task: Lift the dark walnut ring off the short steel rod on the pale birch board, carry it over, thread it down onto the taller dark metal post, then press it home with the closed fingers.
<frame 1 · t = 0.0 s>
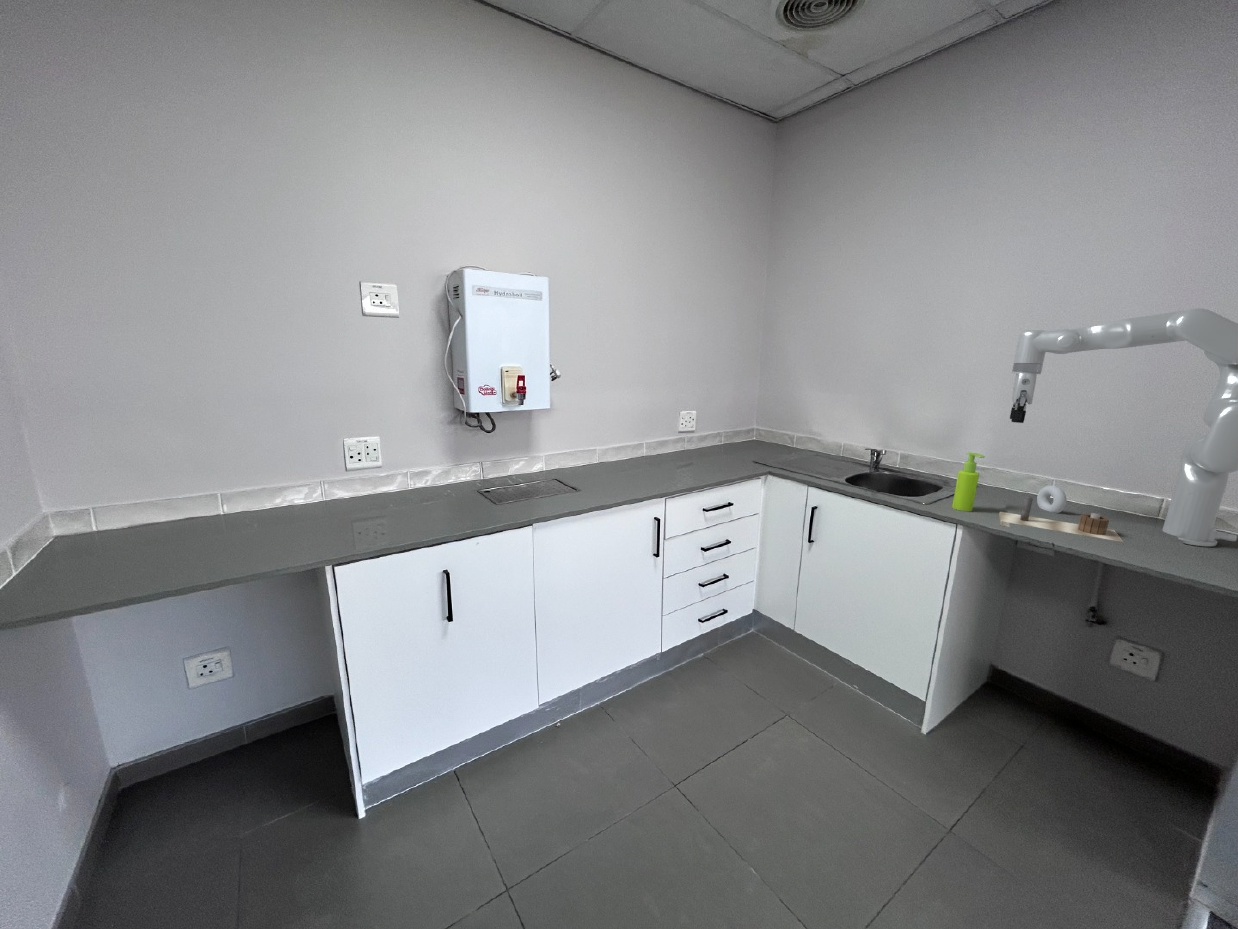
hand: (1016, 420, 167), 31 cm above the table, tool pointing down, fingers open, 9 cm apart
peg board: (1055, 530, 154), on the table
donut: (1048, 514, 171), on the table
soap dispenser: (963, 509, 173), on the table
walnut ring: (1091, 531, 150), point 1 cm above the table, touching peg board
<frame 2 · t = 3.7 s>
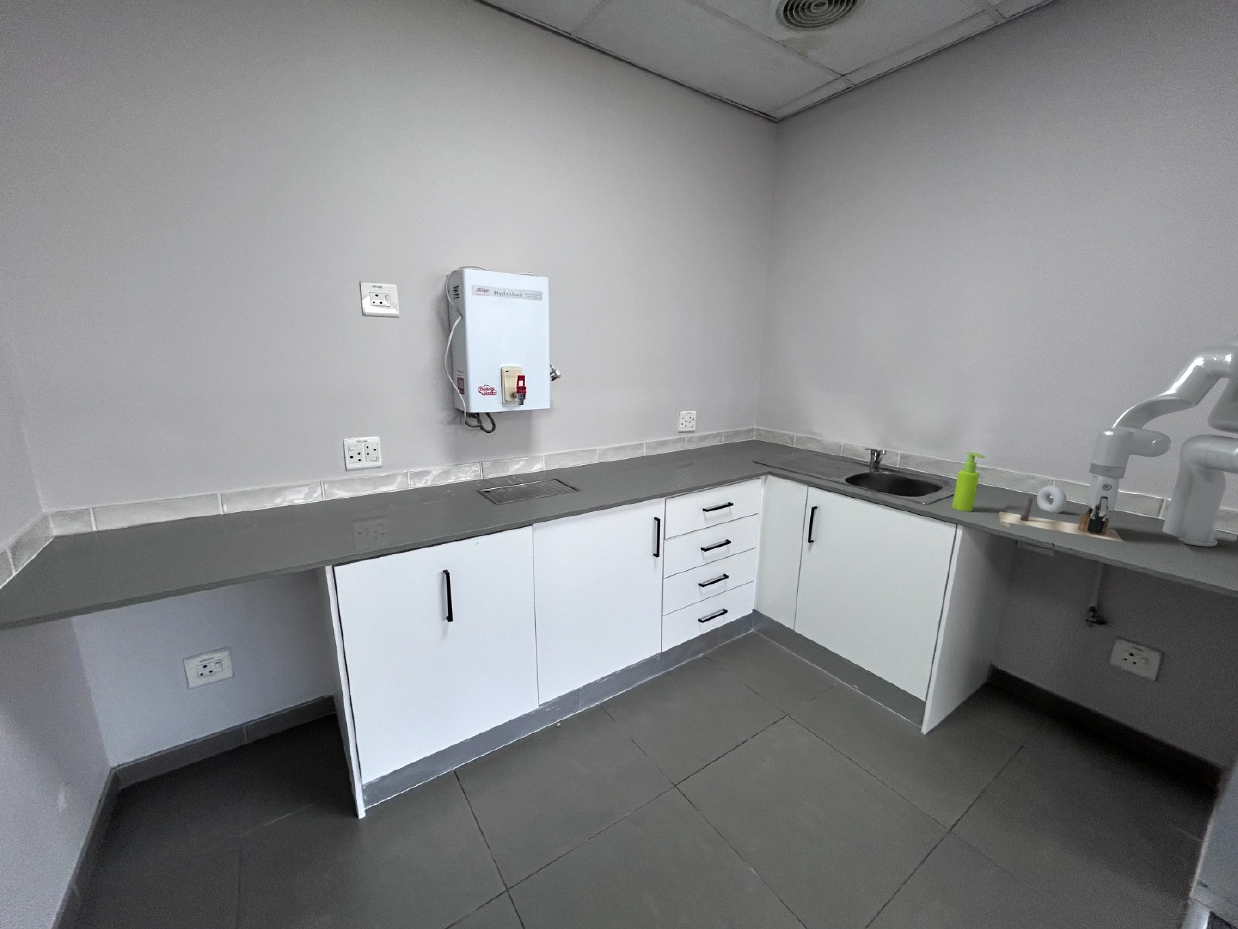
hand: (1092, 528, 150), 2 cm above the table, tool pointing down, fingers closed on walnut ring, 6 cm apart
walnut ring: (1091, 531, 150), point 2 cm above the table, touching gripper, peg board
everything else where it was.
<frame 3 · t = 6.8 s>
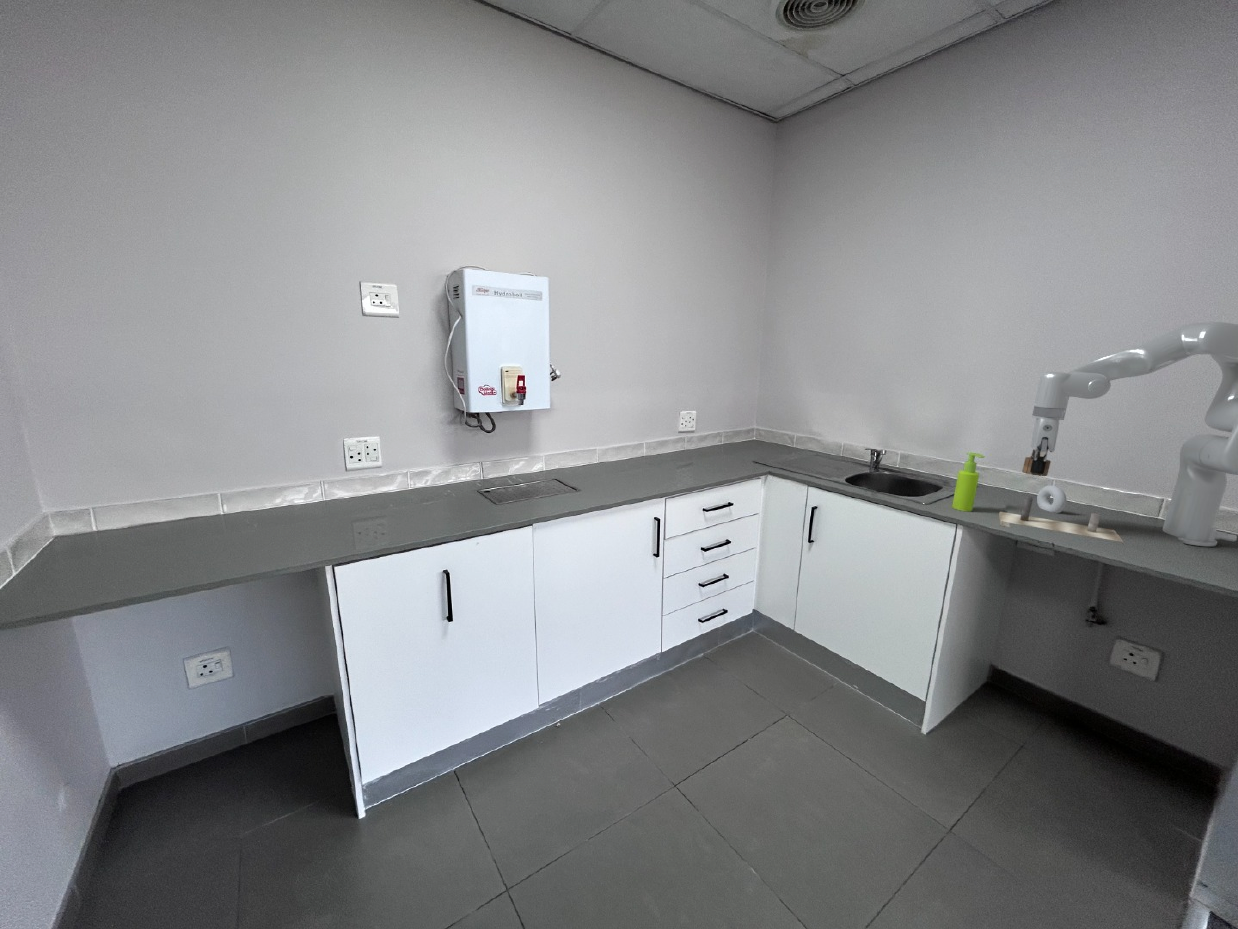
hand: (1035, 470, 155), 18 cm above the table, tool pointing down, fingers closed on walnut ring, 6 cm apart
walnut ring: (1034, 473, 155), point 17 cm above the table, touching gripper
everything else where it was.
when the fingers open (5 cm above the table, at t = 9.7 s): walnut ring drops 2 cm, resting on peg board.
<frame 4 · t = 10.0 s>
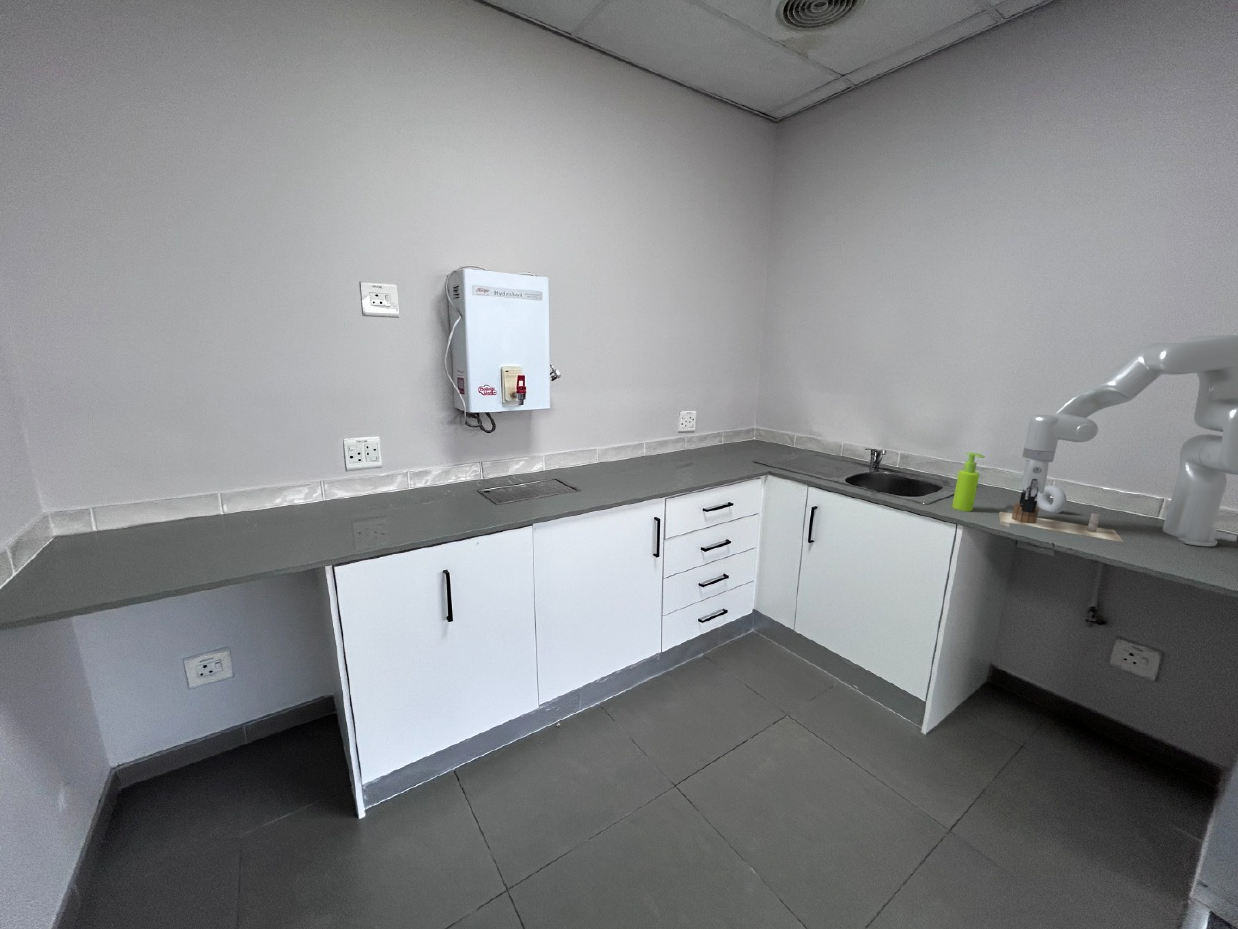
hand: (1026, 508, 158), 5 cm above the table, tool pointing down, fingers open, 9 cm apart
walnut ring: (1023, 520, 159), point 1 cm above the table, touching peg board
everything else where it was.
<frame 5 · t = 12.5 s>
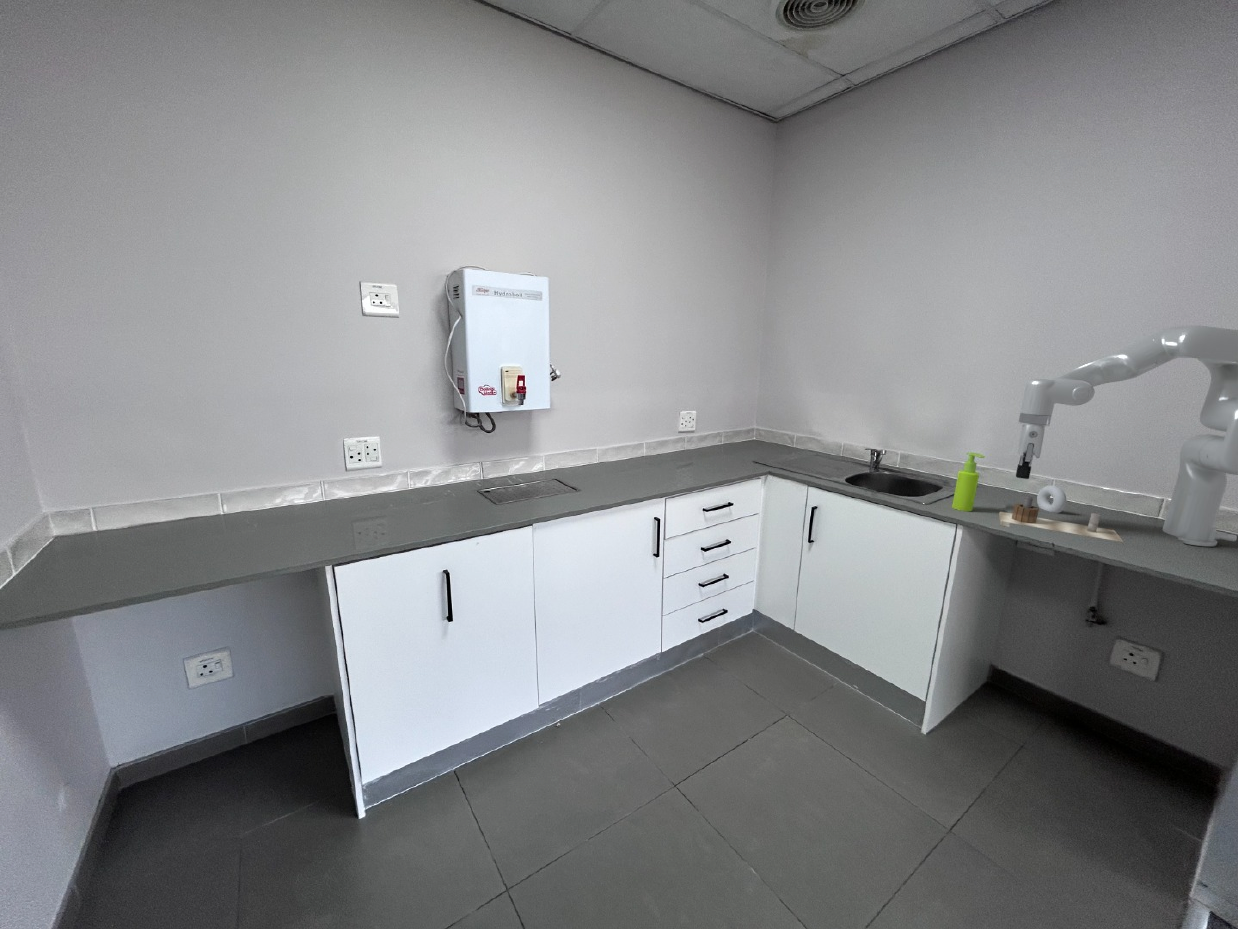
hand: (1022, 477, 157), 15 cm above the table, tool pointing down, fingers closed
nothing on the table moved.
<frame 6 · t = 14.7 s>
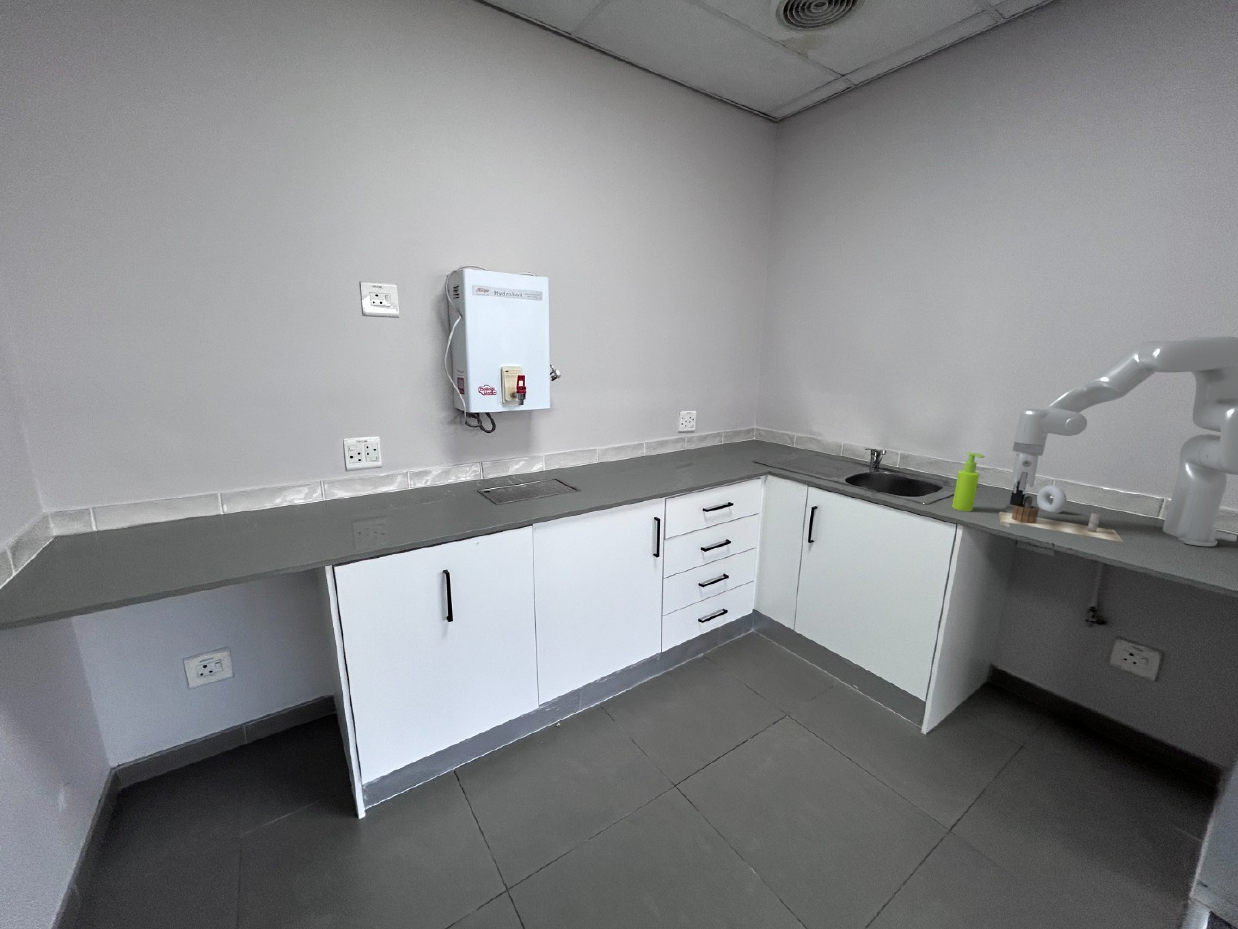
hand: (1015, 504, 159), 6 cm above the table, tool pointing down, fingers closed
walnut ring: (1023, 520, 159), point 1 cm above the table, touching gripper, peg board
everything else where it was.
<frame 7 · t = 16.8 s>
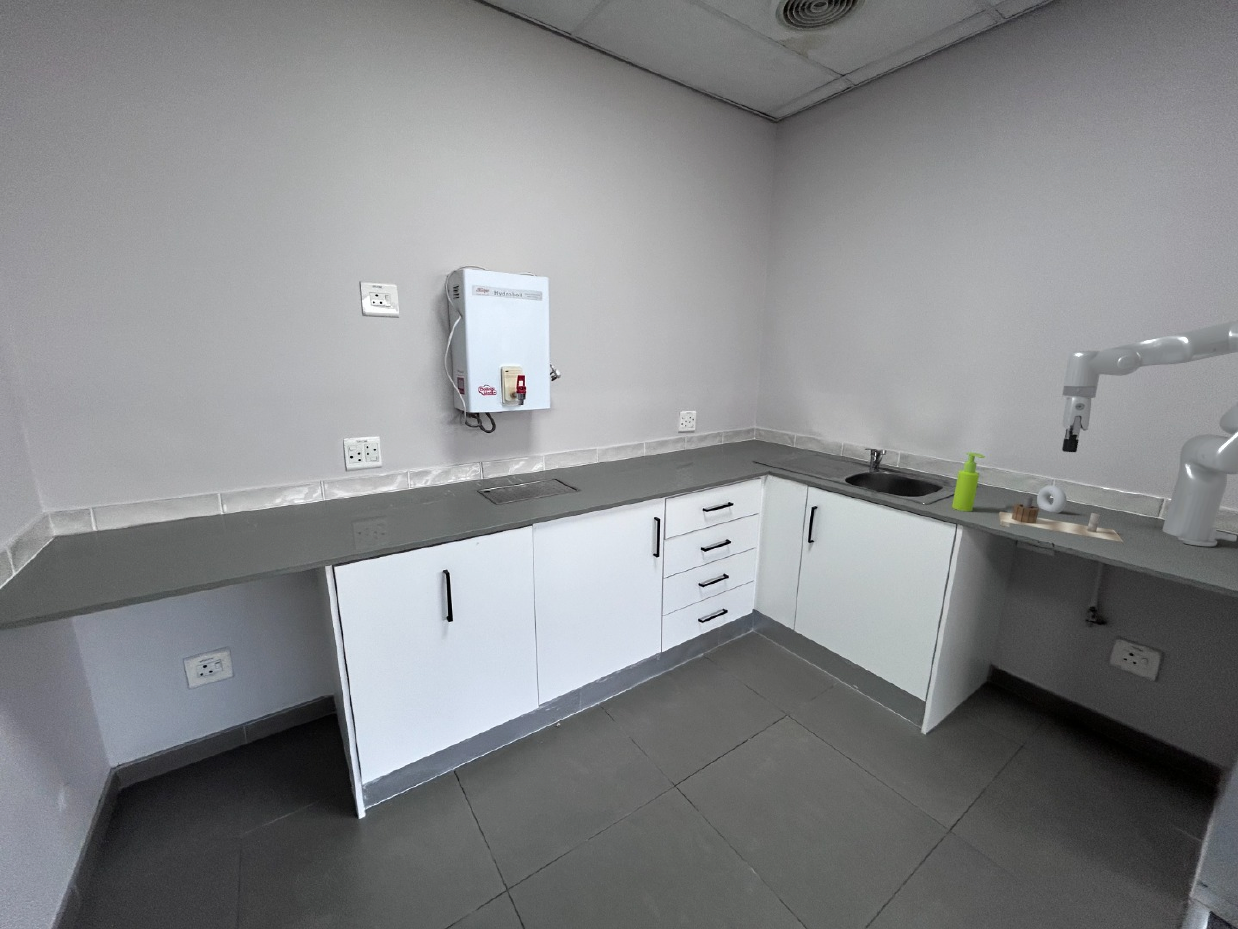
hand: (1069, 451, 155), 24 cm above the table, tool pointing down, fingers closed
walnut ring: (1023, 520, 159), point 1 cm above the table, touching peg board
everything else where it was.
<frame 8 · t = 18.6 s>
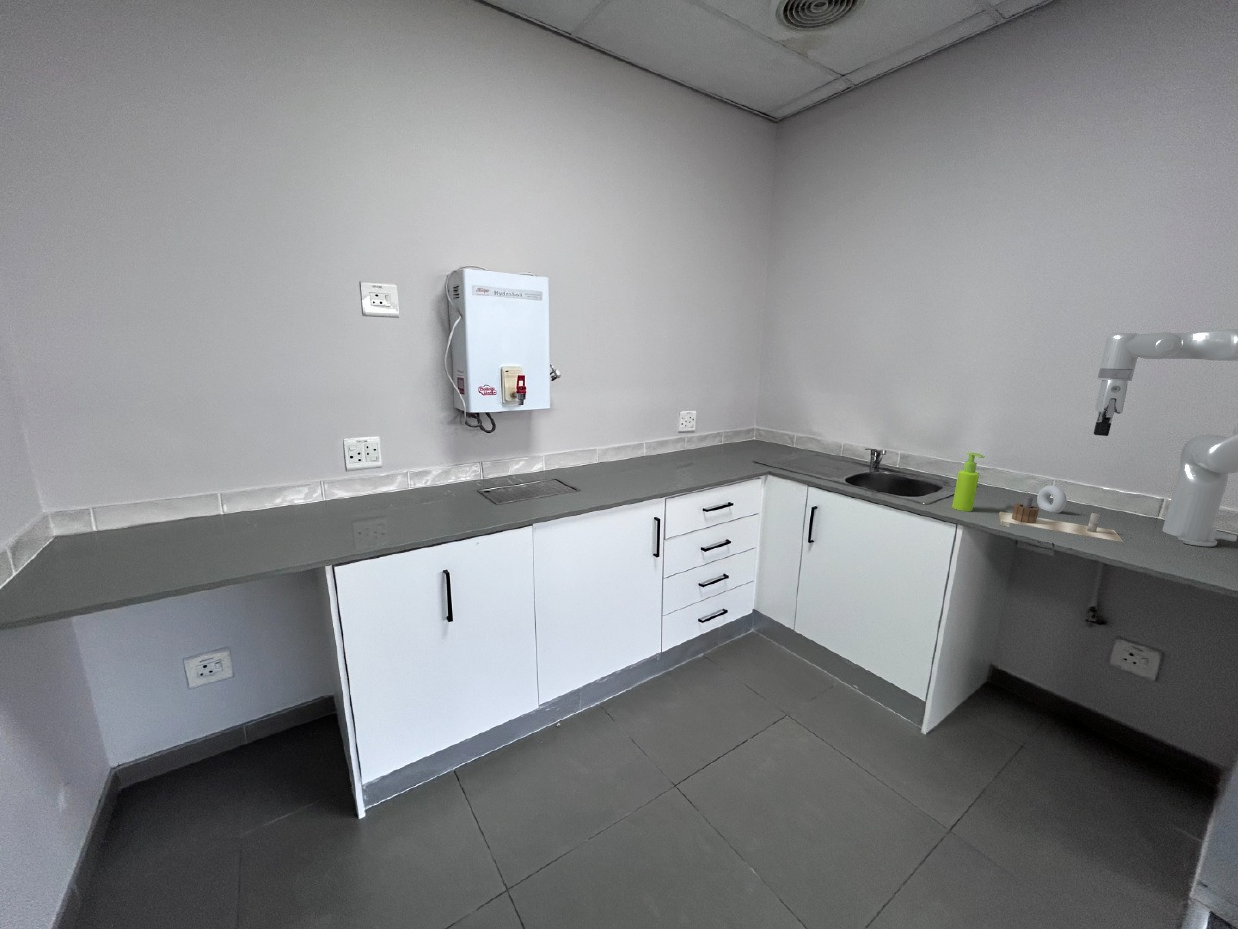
hand: (1100, 435, 154), 29 cm above the table, tool pointing down, fingers closed
nothing on the table moved.
at the end: walnut ring 0.1 cm from the target spot on the peg board, point 1.5 cm above the peg board's base; walnut ring tilted 0°; the gripper is holding nothing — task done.
